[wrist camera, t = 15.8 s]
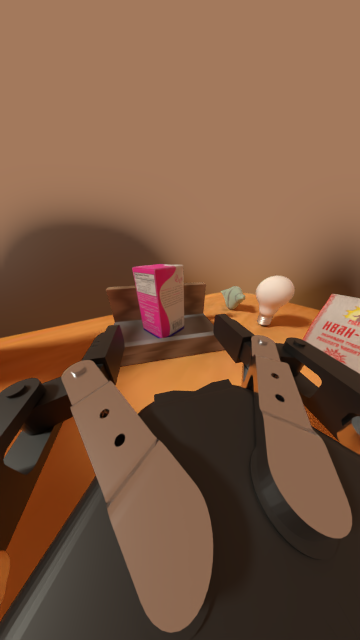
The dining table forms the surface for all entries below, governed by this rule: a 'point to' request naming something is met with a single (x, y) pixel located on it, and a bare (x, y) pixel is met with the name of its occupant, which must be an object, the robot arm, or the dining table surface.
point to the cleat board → (183, 343)
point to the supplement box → (160, 298)
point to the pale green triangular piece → (233, 297)
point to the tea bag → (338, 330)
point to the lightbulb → (273, 297)
